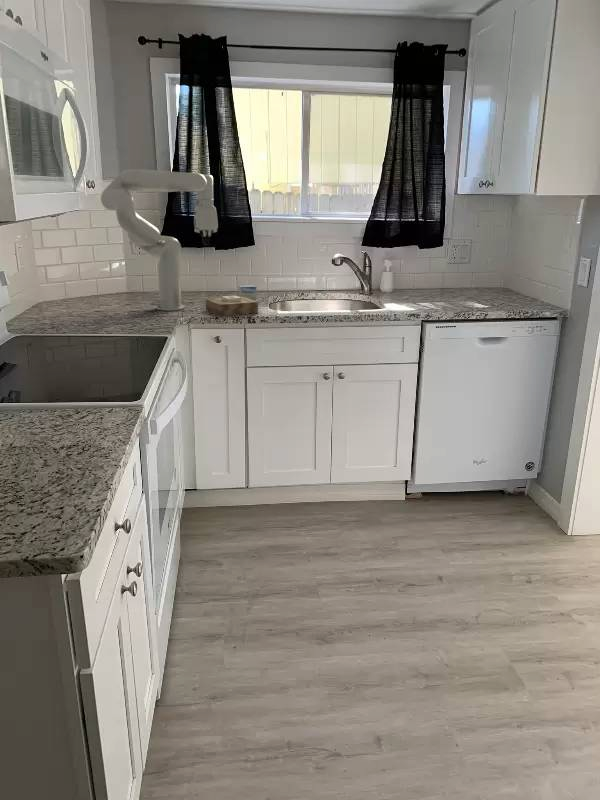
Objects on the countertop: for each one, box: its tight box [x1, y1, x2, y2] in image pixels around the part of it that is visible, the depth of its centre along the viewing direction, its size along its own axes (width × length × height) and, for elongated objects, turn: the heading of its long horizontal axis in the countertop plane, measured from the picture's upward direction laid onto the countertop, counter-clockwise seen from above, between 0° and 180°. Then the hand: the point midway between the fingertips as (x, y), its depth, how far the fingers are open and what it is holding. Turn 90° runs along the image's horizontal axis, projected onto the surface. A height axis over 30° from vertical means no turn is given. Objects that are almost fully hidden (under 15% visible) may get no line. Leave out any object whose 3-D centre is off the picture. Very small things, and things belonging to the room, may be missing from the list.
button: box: [221, 295, 241, 302], centre depth 272 cm, size 6×6×6 cm
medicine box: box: [238, 285, 257, 301], centre depth 292 cm, size 8×4×9 cm, turn 105°
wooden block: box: [205, 297, 259, 317], centre depth 273 cm, size 18×16×5 cm
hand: (206, 245), depth 283 cm, fingers closed
